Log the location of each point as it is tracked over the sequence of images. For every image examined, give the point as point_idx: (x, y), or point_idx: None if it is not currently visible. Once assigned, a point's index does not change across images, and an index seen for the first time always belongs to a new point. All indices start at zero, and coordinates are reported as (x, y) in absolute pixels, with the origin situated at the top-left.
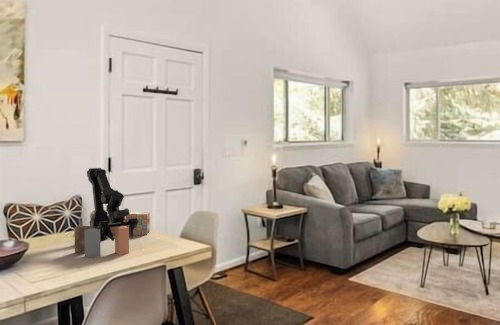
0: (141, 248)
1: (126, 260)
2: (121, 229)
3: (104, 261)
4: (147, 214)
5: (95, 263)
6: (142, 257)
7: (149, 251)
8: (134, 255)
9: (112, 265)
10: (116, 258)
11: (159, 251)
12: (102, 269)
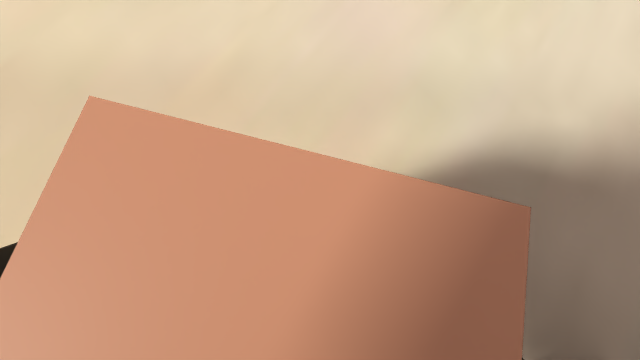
0: None
1: (404, 59)
2: (396, 190)
3: (550, 168)
4: None
5: (628, 174)
6: (262, 30)
7: (68, 131)
8: (264, 127)
9: (544, 37)
10: (432, 168)
11: (15, 60)
12: (631, 16)
